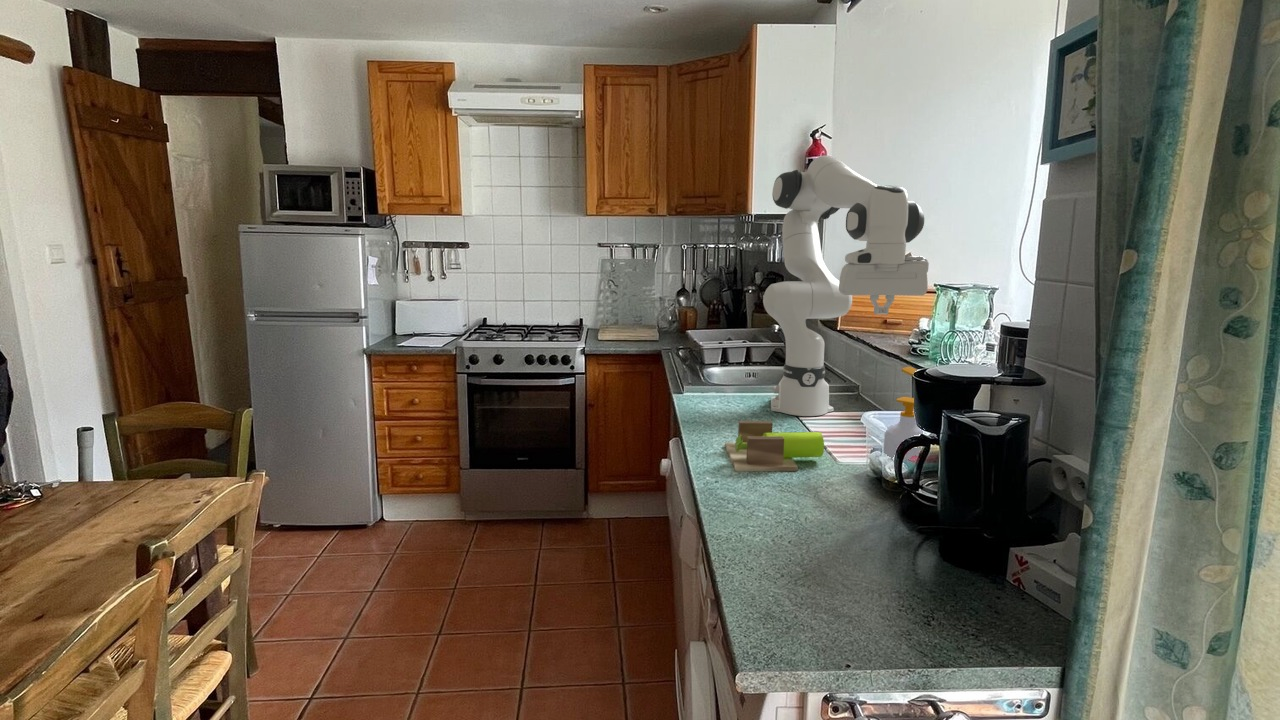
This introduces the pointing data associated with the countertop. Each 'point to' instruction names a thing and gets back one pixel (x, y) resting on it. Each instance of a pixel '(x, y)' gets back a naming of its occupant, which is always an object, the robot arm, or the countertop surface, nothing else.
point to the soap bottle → (903, 426)
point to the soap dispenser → (794, 444)
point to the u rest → (759, 449)
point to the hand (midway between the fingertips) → (880, 314)
